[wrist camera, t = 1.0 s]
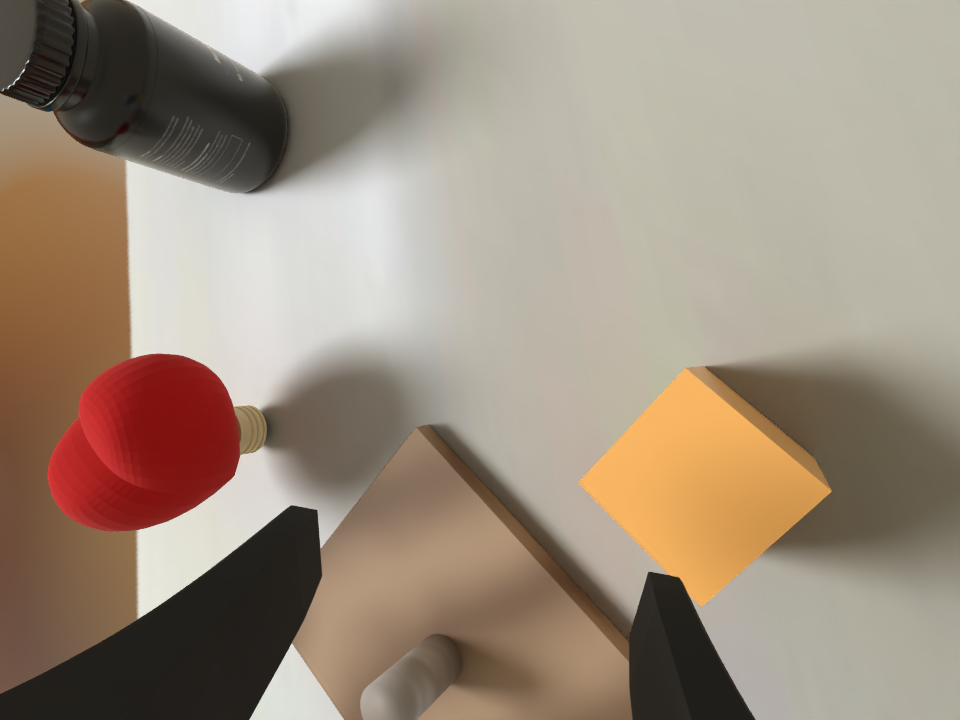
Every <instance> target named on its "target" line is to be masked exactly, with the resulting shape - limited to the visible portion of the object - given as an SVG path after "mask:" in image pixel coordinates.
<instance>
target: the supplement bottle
mask: <svg viewBox="0 0 960 720" xmlns="http://www.w3.org/2000/svg"><path fill="white" fill-rule="evenodd" d="M0 93H1V94H3V95H5V96H9V97H11V98H14V99H17V100H20V101H22V102H26V103H27V104H28V105H29V106H31V107H33V108H36V109H39V110H42V111H46V112H50V111H53V112H54V115H55V116H56V118H57V120H58V122H59V123H60V125H61V126H62V127H63V128H64V130H65V131H66V132H67V133H68V134H69V135H70V136H71V137H72V138H74V139H75V140H76V141H77V142H79V143H81V144H82V145H84V146H87V147H89V148H92V149H94V150H97V151H100V152H103V153H106V154H109V155H112V156H116V157H119V158H122V159H125V160H128V161H131V162H134V163H137V164H140V165H144V166H147V167H150V168H153V169H156V170H159V171H162V172H165V173H169V174H172V175H175V176H178V177H181V178H184V179H187V180H190V181H193V182H197V183H200V184H203V185H206V186H209V187H212V188H216V189H219V190H222V191H226V192H230V193H244V192H248V191H251V190H253V189H255V188H257V187H258V186H260V185H261V184H263V183H264V182H265V181H266V180H267V179H268V178H269V177H270V176H271V174H272V173H273V172H274V170H275V169H276V167H277V165H278V164H279V162H280V159H281V157H282V155H283V152H284V148H285V144H286V139H287V115H286V110H285V106H284V103H283V101H282V98H281V97H280V95H279V93H278V91H277V90H276V89H275V87H274V86H273V85H272V84H271V83H270V82H269V81H267V80H266V79H264V78H263V77H261V76H260V75H258V74H256V73H255V72H253V71H251V70H250V69H248V68H246V67H244V66H243V65H241V64H239V63H237V62H236V61H234V60H232V59H230V58H229V57H227V56H225V55H223V54H222V53H220V52H218V51H216V50H215V49H213V48H211V47H209V46H208V45H206V44H204V43H202V42H201V41H199V40H197V39H195V38H194V37H192V36H190V35H188V34H186V33H185V32H183V31H181V30H179V29H178V28H176V27H174V26H172V25H171V24H169V23H167V22H165V21H164V20H162V19H160V18H158V17H157V16H155V15H153V14H151V13H150V12H148V11H146V10H144V9H143V8H141V7H139V6H137V5H135V4H133V3H131V2H129V1H127V0H85V1H83V2H81V3H80V2H79V1H78V0H0Z"/></svg>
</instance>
